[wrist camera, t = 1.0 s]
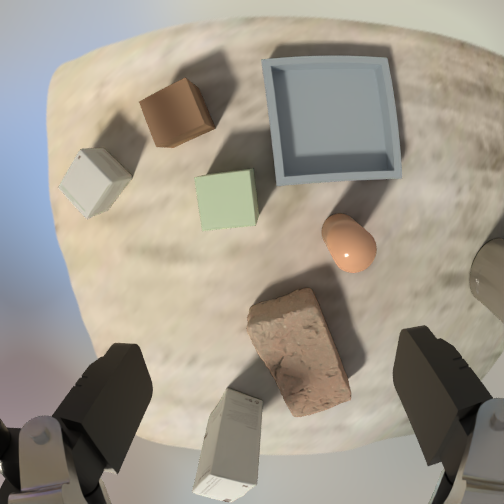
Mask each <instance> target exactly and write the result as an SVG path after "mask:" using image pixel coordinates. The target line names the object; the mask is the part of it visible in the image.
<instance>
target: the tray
mask: <svg viewBox="0 0 504 504" xmlns="http://www.w3.org/2000/svg"><path fill="white" fill-rule="evenodd" d="M261 61H262V68H263V75H264V83H265V90H266V98H267V106H268V114H269V122H270V130H271V139H272V147H273V156H274V165H275V174H276V184H277V186H283V185H295V184H307V183H321V182H336V181H353V180H375V179H402V167H401V152H400V141H399V131H398V122H397V114H396V106H395V99H394V92H393V86H392V80H391V75H390V69H389V64H388V59H387V58H384V57H368V56H300V57H284V58H272V59H262V60H261Z"/></svg>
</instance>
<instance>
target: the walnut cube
mask: <svg viewBox="0 0 504 504" xmlns="http://www.w3.org/2000/svg"><path fill="white" fill-rule="evenodd" d="M139 103H140V106H141V108H142V111H143V114H144V116H145V119H146V122H147V124H148V127H149V129H150V132H151V135H152V137H153V140H154V142H155V145H156V147H167V148H174V147H176V146H178V145H181V144H183V143H185V142H187V141H189V140H191V139H193V138H196V137H198V136H200V135H202V134H205V133H207V132H209V131H211V130H214V129H216V128H215V126H214V124H213V121H212V119H211V116H210V114H209V111H208V109H207V107H206V104H205V102H204V99H203V97H202V95H201V92H200V90H199V88H198V87H197V86H195V85H194V84H193V83H192V82H190V81H189V80H188V79H187V78H184V79H182V80H180V81H178V82H176V83H173V84H172V85H170V86H168V87H166V88H164V89H162V90H160V91H158V92H156V93H154V94H152V95H150V96H149V97H147V98H145V99H143V100H141V101H140V102H139Z"/></svg>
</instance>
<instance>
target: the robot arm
mask: <svg viewBox="0 0 504 504" xmlns="http://www.w3.org/2000/svg"><path fill="white" fill-rule="evenodd" d="M470 289H471V292H472V294H473V295H474V297H475V298H477V299H478V300H479V301H480V302H481V303H482V304H483V305H484V306H485V307H487V308H488V309H489V310H490V311H491V312H492V313H493V314H494V315H495V316H496V317H497V318H498V319H499V320H501V321H502V322H503V323H504V239H501V238H497V239H493V240H491V241H489V242H488V243H486V244H485V245H484V246H483V247H482V248H481V250H480V251H479V252H478V254H477V256H476V258H475V260H474V262H473V265H472V267H471V272H470ZM393 382H394V386H395V389H396V391H397V393H398V395H399V398H400V400H401V402H402V404H403V407H404V409H405V411H406V413H407V416H408V418H409V420H410V423H411V425H412V428H413V430H414V432H415V435H416V437H417V439H418V442H419V444H420V447H421V449H422V452H423V455H424V457H425V460H426V462H427V465H428V466H430V465H433V464H436V463H439V462H442V464H443V466H444V469H443V471H442V472H441V475H440V477H439V480H438V482H437V485H436V487H435V490H434V492H433V494H432V497H431V499H430V501H429V503H428V504H504V398H494V399H493V397H492V396H491V395H490V393H489V392H488V391H487V389H486V388H485V386H484V385H483V384H482V382H481V381H480V379H479V378H478V377H477V375H476V374H475V373H474V371H473V370H472V369H471V368H470V367H468V364H467V362H466V361H465V360H464V359H462V356H461V355H460V353H459V352H458V351H457V350H456V348H455V347H454V346H453V345H451V344H449V343H448V342H446V341H445V340H443V339H441V338H440V339H437V338H436V337H435V336H434V335H433V333H432V332H431V331H430V329H429V328H428V327H427V326H425V325H423V326H418V327H412V328H406V329H402V330H401V332H400V336H399V341H398V347H397V352H396V357H395V362H394V367H393ZM152 393H153V386H152V381H151V378H150V375H149V372H148V369H147V367H146V364H145V361H144V358H143V355H142V352H141V349H140V347H139V346H138V345H137V344H127V343H114V344H113V345H112V346H111V347H110V348H109V350H108V351H107V352H106V354H105V355H104V356H103V357H100V358H99V359H98V360H96V361H95V362H94V363H92V364H91V365H89V367H88V368H87V369H86V370H85V372H84V373H83V375H82V378H79V380H78V381H77V382H76V384H75V386H73V388H72V389H71V390H70V392H69V393H68V394H67V396H66V397H65V399H64V400H63V401H62V403H61V404H60V405H59V407H58V408H57V410H56V411H55V412H54V414H53V415H52V416H38V417H35V418H33V419H31V420H29V421H28V422H27V423H26V424H25V425H24V426H23V427H22V428H7V427H6V426H5V425H4V423H3V422H2V420H1V419H0V473H1V474H2V475H3V476H4V477H5V478H6V479H5V481H4V482H3V484H2V486H1V488H0V504H111V501H110V498H109V496H108V493H107V490H106V487H105V485H104V482H103V481H102V479H101V475H102V473H103V471H106V472H110V473H113V474H118V473H119V471H120V468H121V466H122V463H123V461H124V459H125V457H126V454H127V452H128V450H129V447H130V445H131V443H132V440H133V438H134V436H135V434H136V432H137V429H138V427H139V425H140V423H141V420H142V418H143V416H144V414H145V411H146V409H147V407H148V405H149V403H150V400H151V398H152Z"/></svg>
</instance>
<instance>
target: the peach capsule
mask: <svg viewBox="0 0 504 504" xmlns="http://www.w3.org/2000/svg"><path fill="white" fill-rule="evenodd" d="M322 238H323V240H324V242H325V244H326V246H327V248H328V249H329V251H330V253H331V255H332V257H333V259H334V261H335V263H336V264H337V265H338V267H339V268H341V269H342V270H344V271H346V272H350V273H356V272H360V271H363V270H365V269H366V268H367V267H369V266H370V265H371V263H372V262H373V260H374V258H375V256H376V250H377V248H376V242H375V240H374V238H373V236H372V235H371V234H370V233H369V232H367V231H366V230H365V229H364V228H363V227H362V226H361V225H359V224H358V223H357V222H356V221H355V220H354V219H352V218H351V217H350V216H348V215H346V214H342V213H338V214H334V215H331V216H330V217H328V218H327V219H326V221H325V222H324V224H323V226H322Z"/></svg>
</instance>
